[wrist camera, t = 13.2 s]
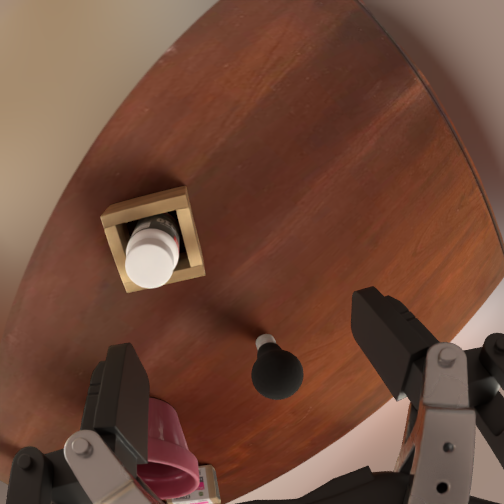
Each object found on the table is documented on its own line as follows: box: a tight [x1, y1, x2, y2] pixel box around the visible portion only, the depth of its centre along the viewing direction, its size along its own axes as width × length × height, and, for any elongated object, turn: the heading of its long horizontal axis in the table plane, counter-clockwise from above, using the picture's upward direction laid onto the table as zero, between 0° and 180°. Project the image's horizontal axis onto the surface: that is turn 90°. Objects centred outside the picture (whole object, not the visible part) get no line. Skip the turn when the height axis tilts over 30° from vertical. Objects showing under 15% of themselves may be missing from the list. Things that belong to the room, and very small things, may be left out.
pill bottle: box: [125, 212, 180, 288], centre depth 28 cm, size 5×5×8 cm
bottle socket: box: [100, 186, 205, 293], centre depth 30 cm, size 8×8×4 cm
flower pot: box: [137, 398, 199, 499], centre depth 37 cm, size 14×14×13 cm
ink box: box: [167, 465, 221, 504], centre depth 48 cm, size 10×4×8 cm, turn 98°
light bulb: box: [252, 334, 303, 400], centre depth 36 cm, size 6×6×10 cm
